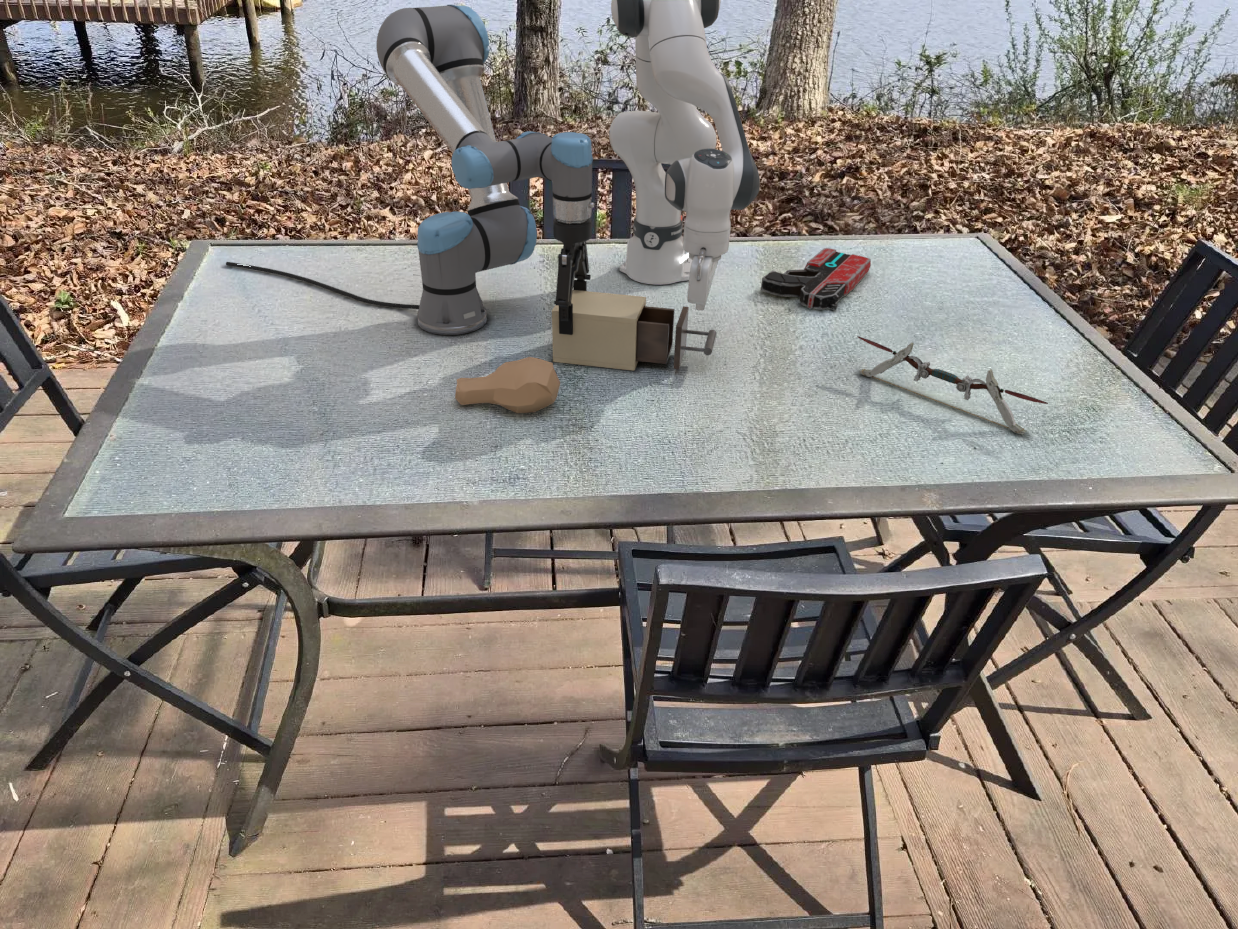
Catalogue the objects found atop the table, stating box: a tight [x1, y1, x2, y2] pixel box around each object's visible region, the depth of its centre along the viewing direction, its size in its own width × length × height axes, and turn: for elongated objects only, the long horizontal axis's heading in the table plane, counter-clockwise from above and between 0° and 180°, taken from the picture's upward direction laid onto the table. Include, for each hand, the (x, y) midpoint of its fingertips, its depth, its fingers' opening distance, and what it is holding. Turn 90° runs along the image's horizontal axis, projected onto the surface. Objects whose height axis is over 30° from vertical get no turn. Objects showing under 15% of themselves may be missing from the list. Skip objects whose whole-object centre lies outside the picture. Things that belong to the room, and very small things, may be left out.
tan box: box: [551, 290, 647, 371], centre depth 182 cm, size 17×12×12 cm, turn 79°
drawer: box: [636, 305, 717, 370], centre depth 180 cm, size 22×10×9 cm, turn 79°
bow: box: [856, 335, 1049, 435], centre depth 169 cm, size 39×2×10 cm, turn 47°
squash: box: [454, 356, 561, 414], centre depth 164 cm, size 11×20×9 cm, turn 90°
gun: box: [760, 247, 872, 311], centre depth 219 cm, size 4×31×19 cm
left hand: (573, 321), depth 182 cm, fingers closed on tan box, 11 cm apart
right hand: (700, 307), depth 175 cm, fingers closed
